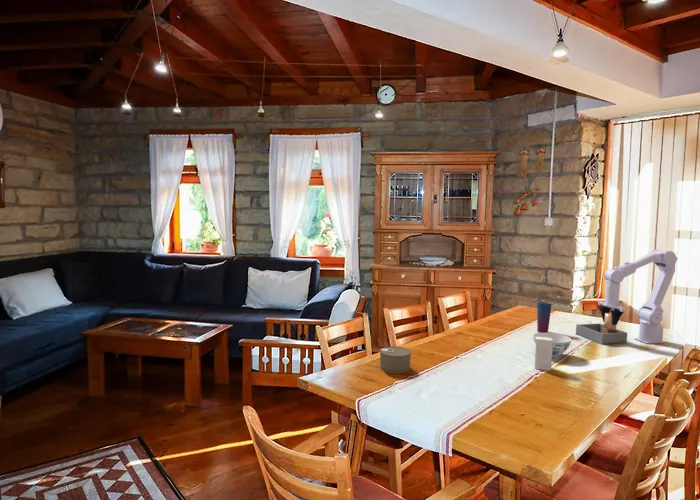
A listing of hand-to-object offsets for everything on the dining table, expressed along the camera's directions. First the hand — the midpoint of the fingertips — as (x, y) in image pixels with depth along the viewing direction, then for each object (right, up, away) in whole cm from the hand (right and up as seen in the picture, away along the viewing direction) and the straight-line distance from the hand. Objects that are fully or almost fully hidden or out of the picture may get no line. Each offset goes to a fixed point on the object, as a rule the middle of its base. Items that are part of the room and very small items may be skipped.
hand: (610, 323), depth 225 cm
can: (-106, -11, -41) cm, 114 cm away
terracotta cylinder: (0, -2, 0) cm, 2 cm away
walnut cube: (+1, -8, +3) cm, 9 cm away
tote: (-2, -8, +6) cm, 10 cm away
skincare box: (-47, -12, -38) cm, 62 cm away
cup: (-25, -7, +16) cm, 31 cm away
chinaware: (-37, -11, -21) cm, 44 cm away
